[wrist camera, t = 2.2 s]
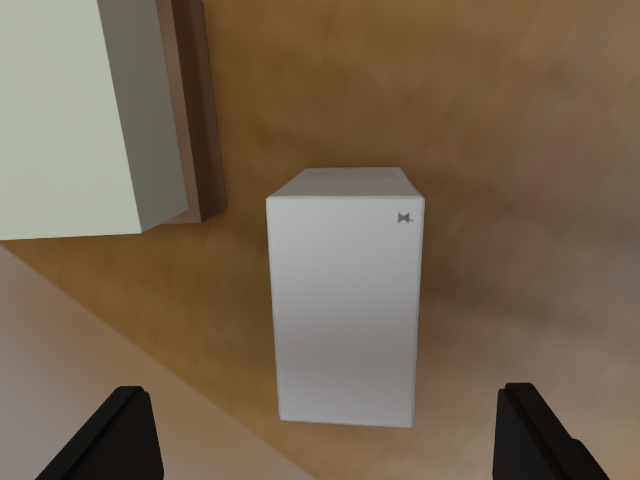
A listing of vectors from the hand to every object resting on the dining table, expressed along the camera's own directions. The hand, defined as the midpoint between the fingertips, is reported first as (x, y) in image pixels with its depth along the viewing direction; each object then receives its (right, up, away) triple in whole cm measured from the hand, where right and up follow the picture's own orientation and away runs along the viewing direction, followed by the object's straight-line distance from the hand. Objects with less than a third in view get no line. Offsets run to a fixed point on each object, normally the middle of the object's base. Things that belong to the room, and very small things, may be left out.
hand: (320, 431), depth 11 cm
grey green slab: (-13, +12, +10) cm, 20 cm away
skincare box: (+2, +5, +16) cm, 17 cm away
